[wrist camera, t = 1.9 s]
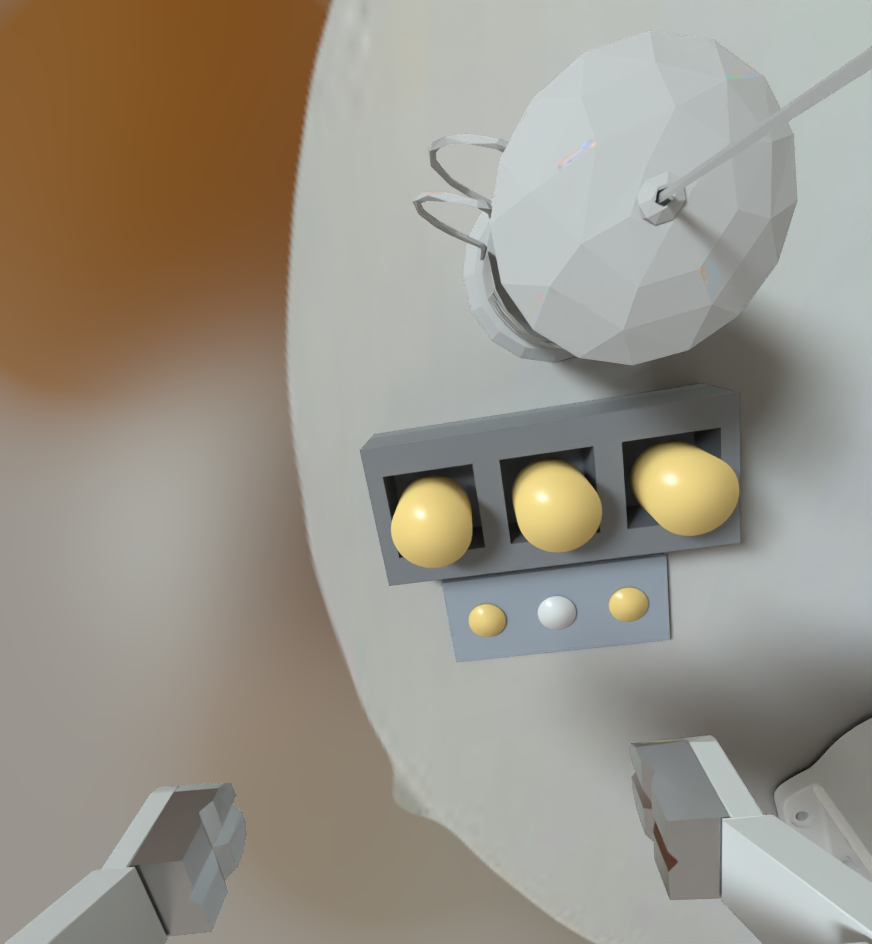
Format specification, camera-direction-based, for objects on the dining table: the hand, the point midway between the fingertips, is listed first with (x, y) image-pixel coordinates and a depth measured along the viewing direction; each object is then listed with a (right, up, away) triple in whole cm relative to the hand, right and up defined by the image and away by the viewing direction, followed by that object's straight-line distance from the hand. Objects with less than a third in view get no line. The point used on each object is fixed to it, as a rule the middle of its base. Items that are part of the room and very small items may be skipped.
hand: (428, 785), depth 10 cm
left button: (0, +4, +17) cm, 18 cm away
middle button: (+6, +5, +16) cm, 18 cm away
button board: (+7, +2, +21) cm, 22 cm away
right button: (+12, +6, +16) cm, 21 cm away
